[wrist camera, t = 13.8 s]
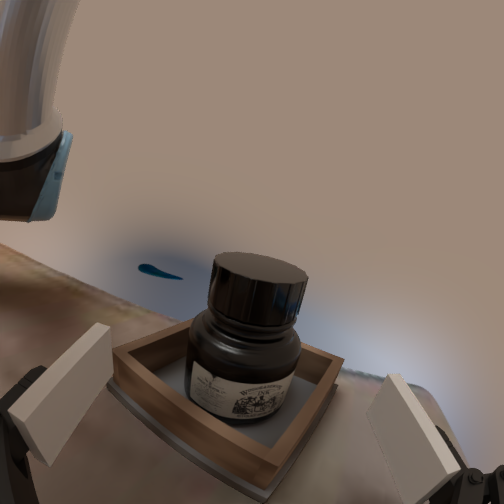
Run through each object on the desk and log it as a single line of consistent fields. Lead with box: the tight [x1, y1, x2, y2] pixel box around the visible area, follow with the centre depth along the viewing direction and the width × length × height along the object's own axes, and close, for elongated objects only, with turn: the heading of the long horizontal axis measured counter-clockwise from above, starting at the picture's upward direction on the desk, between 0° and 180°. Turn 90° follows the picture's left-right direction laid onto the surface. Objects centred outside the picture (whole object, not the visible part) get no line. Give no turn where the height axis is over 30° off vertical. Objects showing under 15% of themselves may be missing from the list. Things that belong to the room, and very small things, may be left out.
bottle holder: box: [106, 318, 344, 504], centre depth 22 cm, size 16×16×4 cm
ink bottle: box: [184, 252, 308, 425], centre depth 21 cm, size 10×9×12 cm
